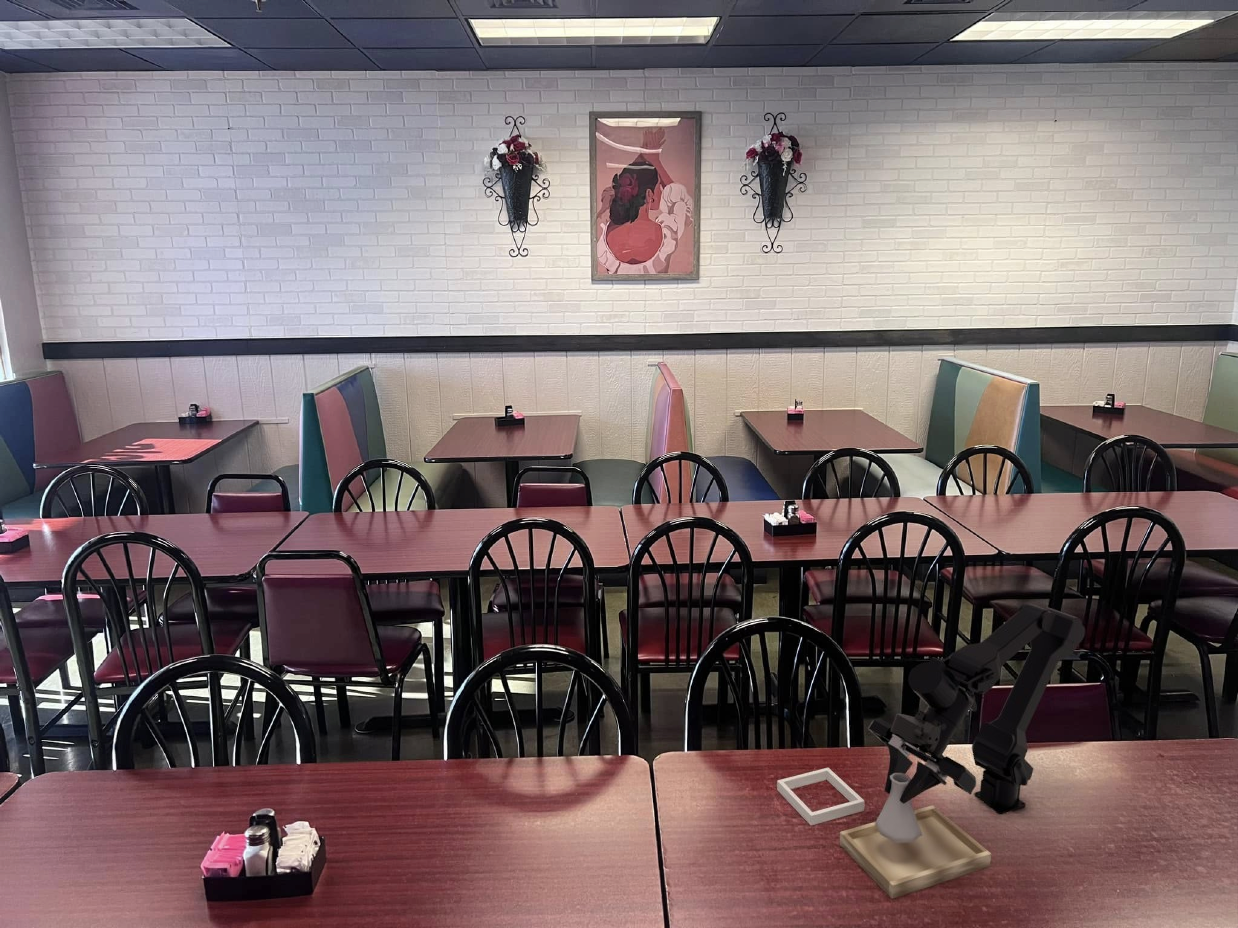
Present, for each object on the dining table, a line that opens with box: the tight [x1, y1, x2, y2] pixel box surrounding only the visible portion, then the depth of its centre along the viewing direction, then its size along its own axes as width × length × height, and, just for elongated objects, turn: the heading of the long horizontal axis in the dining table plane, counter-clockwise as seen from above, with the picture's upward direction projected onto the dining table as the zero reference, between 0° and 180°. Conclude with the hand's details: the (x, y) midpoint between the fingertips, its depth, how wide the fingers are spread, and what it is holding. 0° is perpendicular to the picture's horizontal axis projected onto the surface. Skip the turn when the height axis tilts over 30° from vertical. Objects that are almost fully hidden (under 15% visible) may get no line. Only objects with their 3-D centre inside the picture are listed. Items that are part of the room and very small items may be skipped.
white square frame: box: [776, 767, 866, 826], centre depth 156 cm, size 12×12×2 cm
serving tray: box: [839, 804, 992, 900], centre depth 141 cm, size 20×14×2 cm
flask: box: [875, 773, 922, 843], centre depth 139 cm, size 7×7×10 cm
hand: (893, 797), depth 138 cm, fingers closed on flask, 3 cm apart
